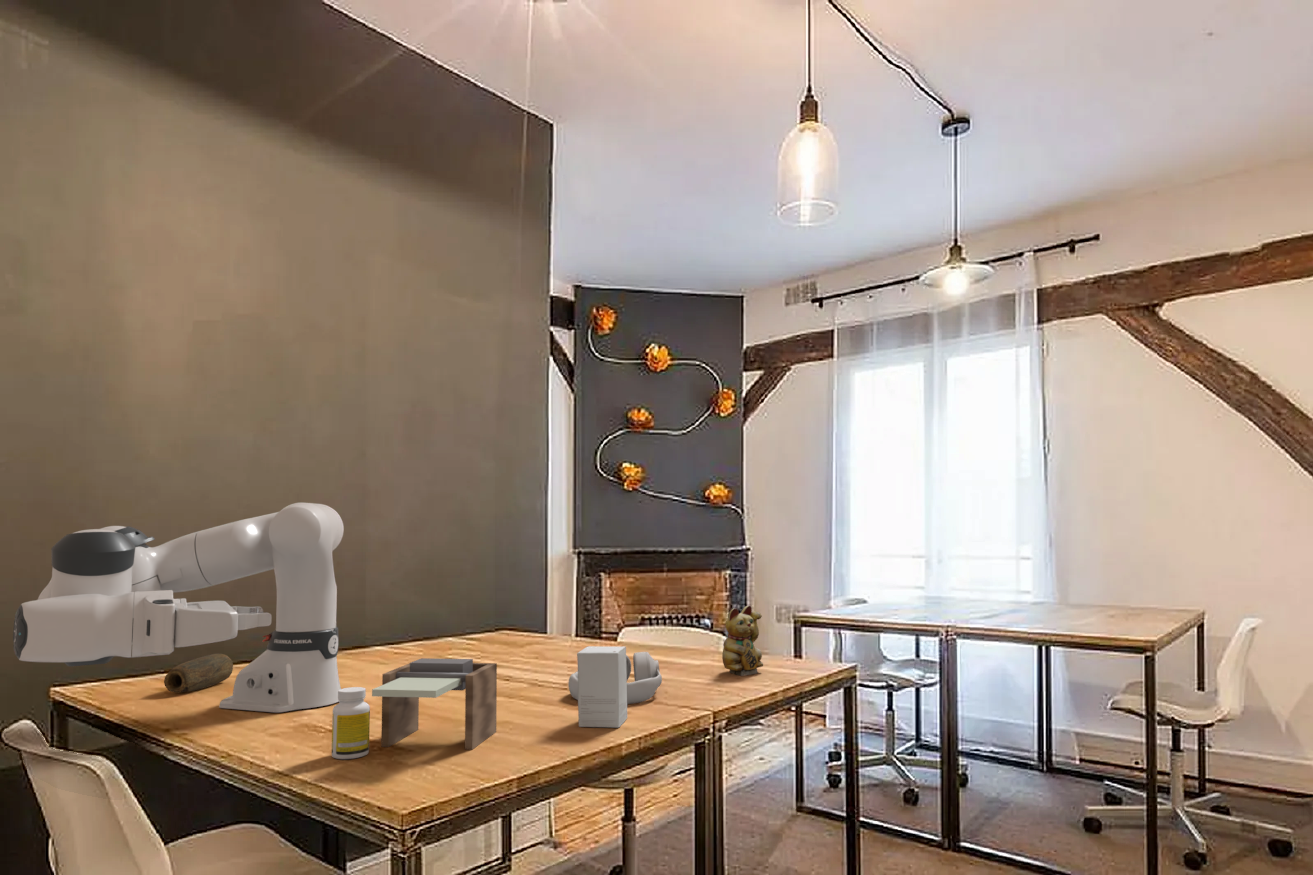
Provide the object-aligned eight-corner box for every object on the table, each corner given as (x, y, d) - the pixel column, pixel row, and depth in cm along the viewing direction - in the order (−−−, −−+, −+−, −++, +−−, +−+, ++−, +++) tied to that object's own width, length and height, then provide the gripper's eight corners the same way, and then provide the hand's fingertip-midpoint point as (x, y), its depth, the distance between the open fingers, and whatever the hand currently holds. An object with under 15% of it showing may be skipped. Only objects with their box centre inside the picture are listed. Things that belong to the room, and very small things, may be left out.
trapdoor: (413, 683, 143) (413, 658, 143) (480, 685, 141) (480, 659, 141) (366, 705, 127) (366, 676, 127) (441, 707, 125) (441, 677, 126)
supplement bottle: (376, 754, 130) (377, 688, 131) (342, 762, 126) (344, 694, 127) (357, 748, 134) (358, 684, 135) (324, 756, 130) (326, 690, 131)
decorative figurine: (738, 678, 187) (737, 608, 189) (712, 673, 194) (711, 606, 195) (768, 672, 194) (766, 605, 195) (741, 667, 200) (740, 602, 201)
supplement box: (628, 718, 152) (627, 645, 153) (619, 728, 144) (618, 652, 146) (588, 717, 153) (587, 645, 154) (576, 727, 146) (576, 651, 147)
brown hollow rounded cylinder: (205, 682, 191) (206, 651, 192) (235, 682, 190) (236, 651, 191) (159, 696, 176) (160, 663, 177) (191, 696, 176) (192, 663, 176)
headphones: (595, 679, 185) (556, 713, 166) (593, 644, 184) (553, 674, 165) (677, 684, 179) (646, 720, 160) (675, 647, 178) (643, 678, 160)
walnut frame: (411, 729, 146) (412, 662, 147) (496, 731, 143) (496, 663, 144) (381, 746, 135) (382, 674, 136) (472, 749, 132) (472, 675, 133)
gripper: (155, 637, 127) (257, 629, 134) (158, 655, 110) (275, 646, 117) (157, 594, 128) (258, 589, 135) (160, 605, 110) (276, 599, 117)
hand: (266, 615), depth 126 cm, fingers open, 8 cm apart
